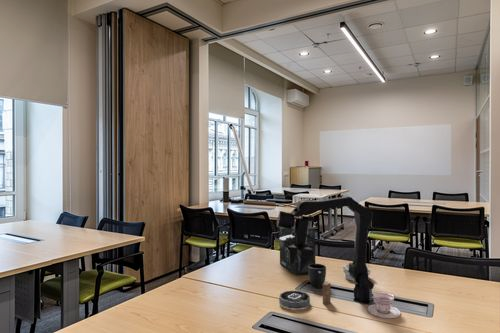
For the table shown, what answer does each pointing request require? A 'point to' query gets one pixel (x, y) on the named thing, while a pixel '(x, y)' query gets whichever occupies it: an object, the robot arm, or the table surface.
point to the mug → (317, 275)
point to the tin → (294, 300)
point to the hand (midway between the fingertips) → (295, 267)
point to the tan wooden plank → (326, 293)
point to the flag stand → (346, 268)
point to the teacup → (383, 306)
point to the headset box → (285, 255)
